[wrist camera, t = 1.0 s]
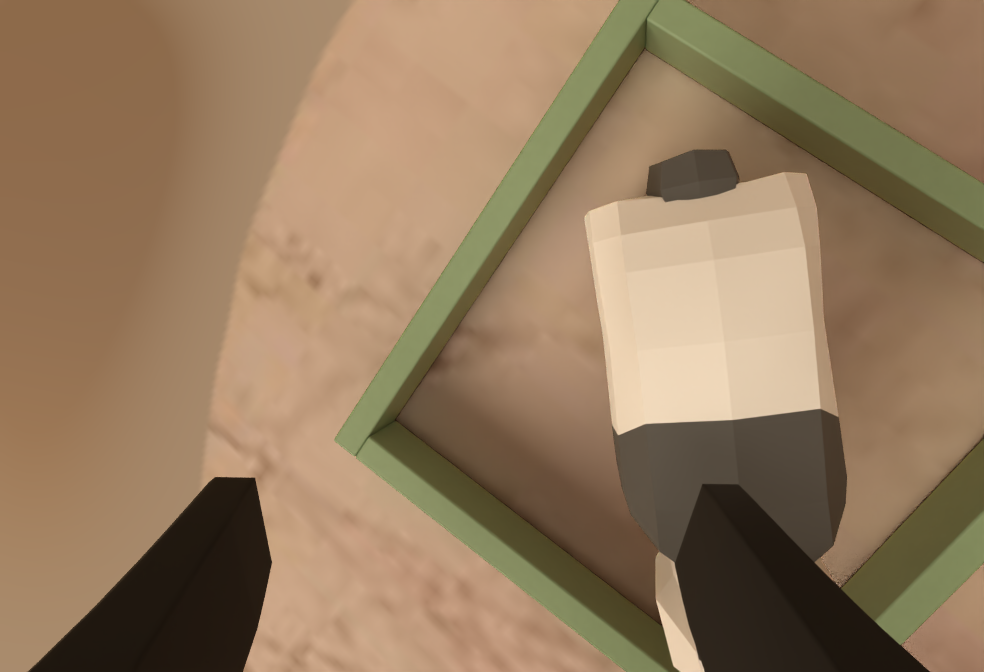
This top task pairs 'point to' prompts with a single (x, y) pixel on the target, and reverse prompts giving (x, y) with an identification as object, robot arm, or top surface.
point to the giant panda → (717, 358)
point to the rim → (627, 31)
